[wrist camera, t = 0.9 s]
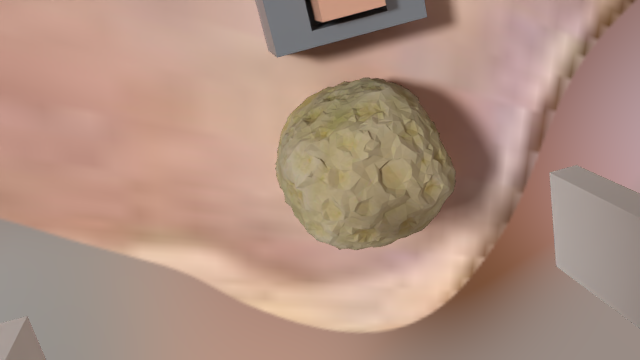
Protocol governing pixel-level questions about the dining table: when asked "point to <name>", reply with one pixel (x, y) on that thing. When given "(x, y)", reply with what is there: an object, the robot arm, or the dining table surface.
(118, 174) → the dining table surface
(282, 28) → the keypad
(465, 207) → the dining table surface
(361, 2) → the key
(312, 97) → the decorative object
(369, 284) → the dining table surface
